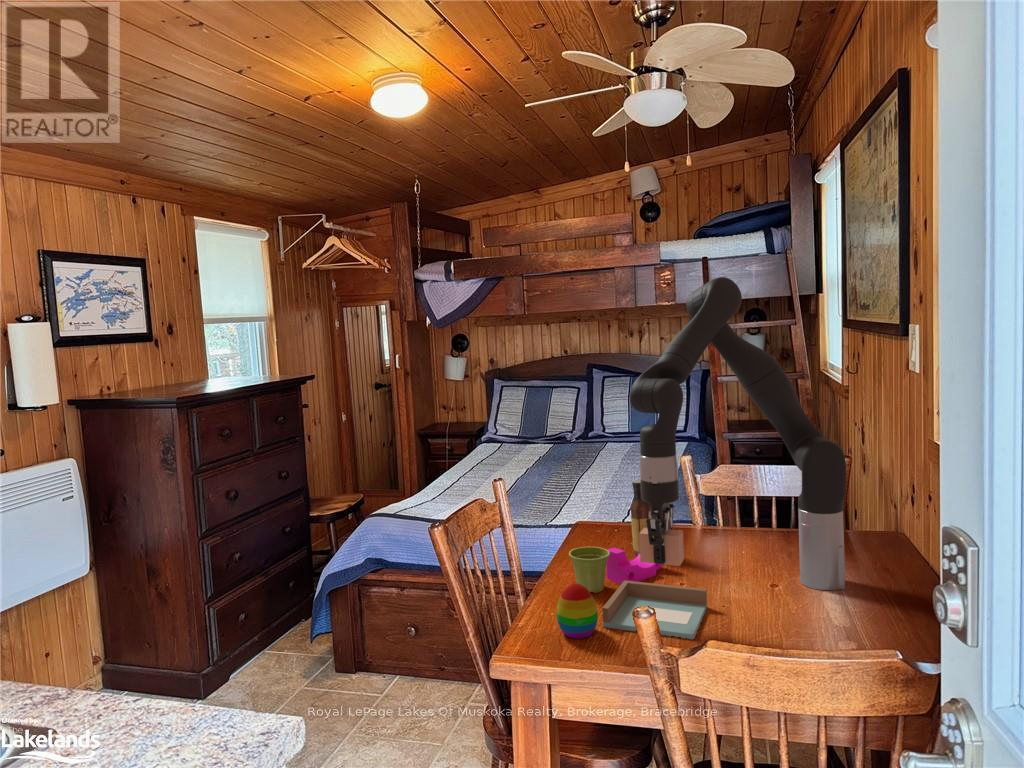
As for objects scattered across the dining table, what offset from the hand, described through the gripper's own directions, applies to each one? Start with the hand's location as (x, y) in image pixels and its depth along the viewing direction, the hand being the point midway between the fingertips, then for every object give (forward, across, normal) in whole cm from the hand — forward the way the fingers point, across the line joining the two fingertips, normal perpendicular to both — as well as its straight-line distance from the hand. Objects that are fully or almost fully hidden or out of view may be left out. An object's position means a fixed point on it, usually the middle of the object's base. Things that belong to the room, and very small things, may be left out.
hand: (662, 559), depth 139 cm
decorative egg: (+13, +11, -15) cm, 23 cm away
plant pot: (+13, -12, -20) cm, 27 cm away
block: (0, 0, 0) cm, 0 cm away
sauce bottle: (+13, -39, -14) cm, 43 cm away
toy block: (+13, -24, -12) cm, 29 cm away
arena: (+13, -1, -2) cm, 13 cm away
